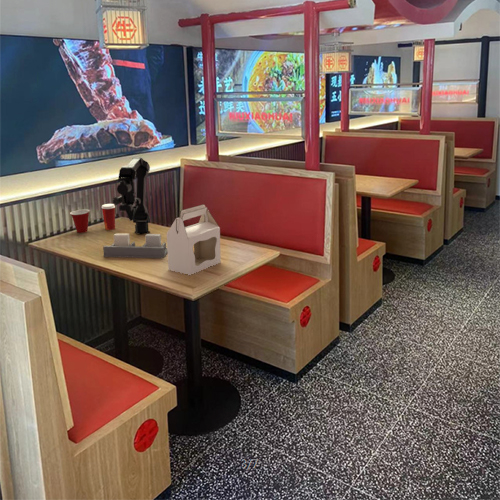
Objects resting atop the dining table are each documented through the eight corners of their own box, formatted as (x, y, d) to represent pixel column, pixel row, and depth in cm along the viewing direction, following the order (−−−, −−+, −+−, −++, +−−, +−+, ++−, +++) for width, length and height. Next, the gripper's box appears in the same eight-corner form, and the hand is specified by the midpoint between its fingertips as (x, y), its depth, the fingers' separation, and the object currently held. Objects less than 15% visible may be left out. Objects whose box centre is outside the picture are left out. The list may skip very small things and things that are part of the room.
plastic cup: (73, 229, 316) (71, 209, 313) (93, 228, 318) (91, 208, 314) (70, 234, 306) (67, 213, 303) (89, 233, 307) (87, 213, 304)
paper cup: (119, 227, 320) (117, 204, 315) (112, 230, 313) (110, 207, 308) (107, 226, 322) (105, 203, 318) (100, 229, 315) (98, 206, 311)
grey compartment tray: (112, 248, 280) (111, 239, 278) (169, 250, 277) (169, 240, 276) (103, 256, 268) (102, 247, 266) (163, 258, 265) (163, 248, 263)
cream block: (117, 248, 277) (115, 233, 274) (130, 248, 276) (129, 233, 274) (114, 250, 274) (113, 235, 271) (128, 250, 273) (127, 235, 271)
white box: (148, 249, 275) (147, 233, 273) (161, 249, 275) (160, 234, 272) (146, 251, 272) (145, 235, 270) (160, 251, 272) (159, 235, 269)
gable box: (189, 276, 241) (186, 214, 233) (167, 270, 249) (164, 210, 240) (221, 262, 258) (219, 204, 250) (200, 257, 266) (198, 201, 257)
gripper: (119, 187, 293) (121, 215, 297) (107, 194, 275) (110, 224, 280) (140, 187, 292) (141, 216, 296) (129, 194, 274) (131, 224, 279)
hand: (131, 220), depth 288 cm, fingers closed
